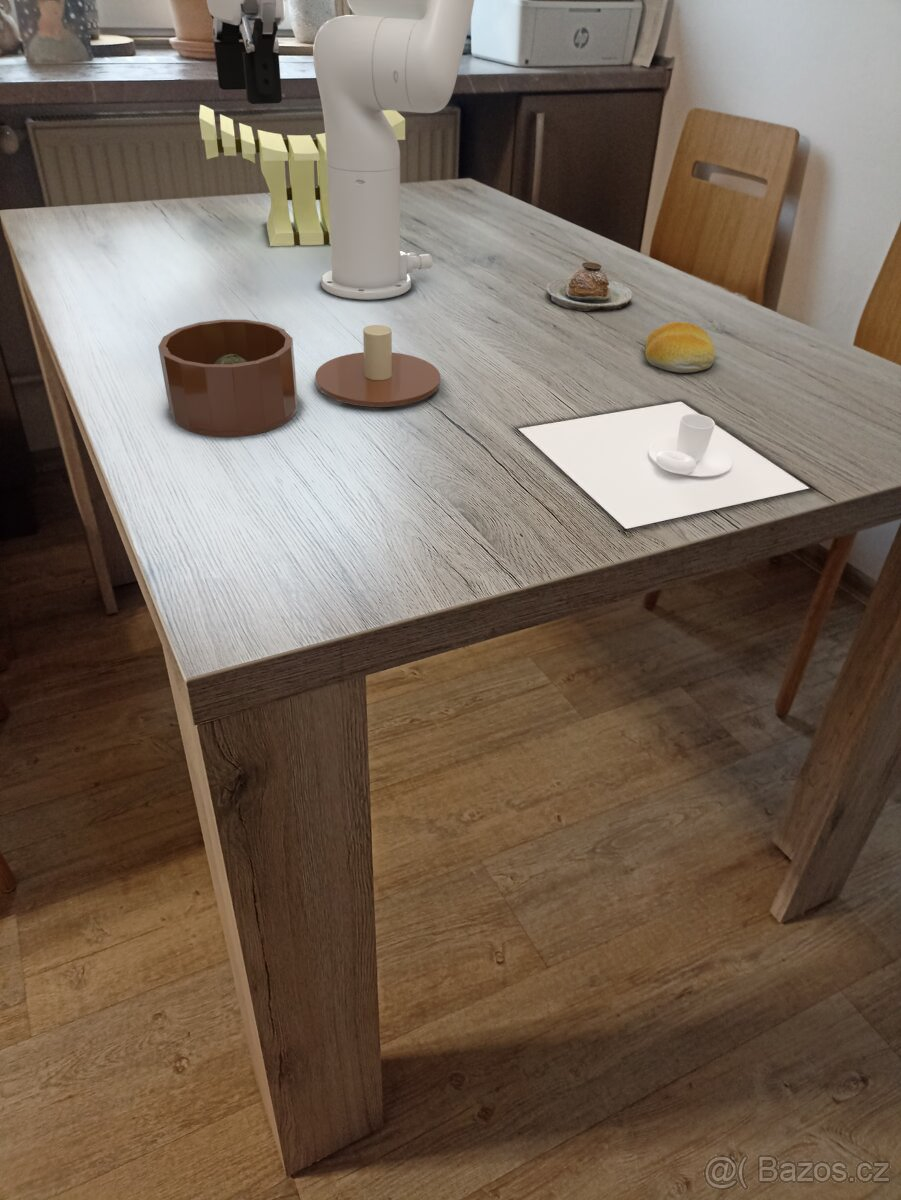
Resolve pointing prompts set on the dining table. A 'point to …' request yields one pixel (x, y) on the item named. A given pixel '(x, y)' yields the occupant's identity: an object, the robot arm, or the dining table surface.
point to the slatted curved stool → (273, 169)
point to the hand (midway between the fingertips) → (249, 95)
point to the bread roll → (680, 348)
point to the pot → (229, 377)
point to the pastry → (589, 290)
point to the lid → (377, 374)
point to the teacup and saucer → (659, 463)
